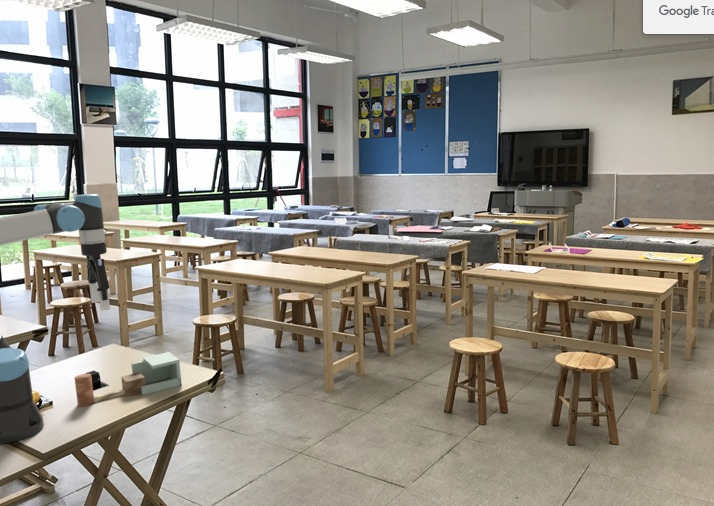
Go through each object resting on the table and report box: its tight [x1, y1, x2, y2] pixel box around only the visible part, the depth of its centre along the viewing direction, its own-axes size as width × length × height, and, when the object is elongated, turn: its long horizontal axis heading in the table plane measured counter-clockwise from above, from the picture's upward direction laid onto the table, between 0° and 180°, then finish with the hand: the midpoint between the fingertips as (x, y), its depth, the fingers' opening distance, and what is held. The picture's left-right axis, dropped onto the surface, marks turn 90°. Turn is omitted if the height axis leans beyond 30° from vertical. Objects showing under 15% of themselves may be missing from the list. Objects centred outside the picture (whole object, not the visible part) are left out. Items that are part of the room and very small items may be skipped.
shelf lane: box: [130, 351, 182, 396], centre depth 203 cm, size 13×10×9 cm
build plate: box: [85, 370, 110, 392], centre depth 206 cm, size 13×8×5 cm, turn 49°
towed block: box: [74, 372, 147, 407], centre depth 195 cm, size 20×6×9 cm, turn 125°
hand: (100, 306), depth 198 cm, fingers open, 13 cm apart
